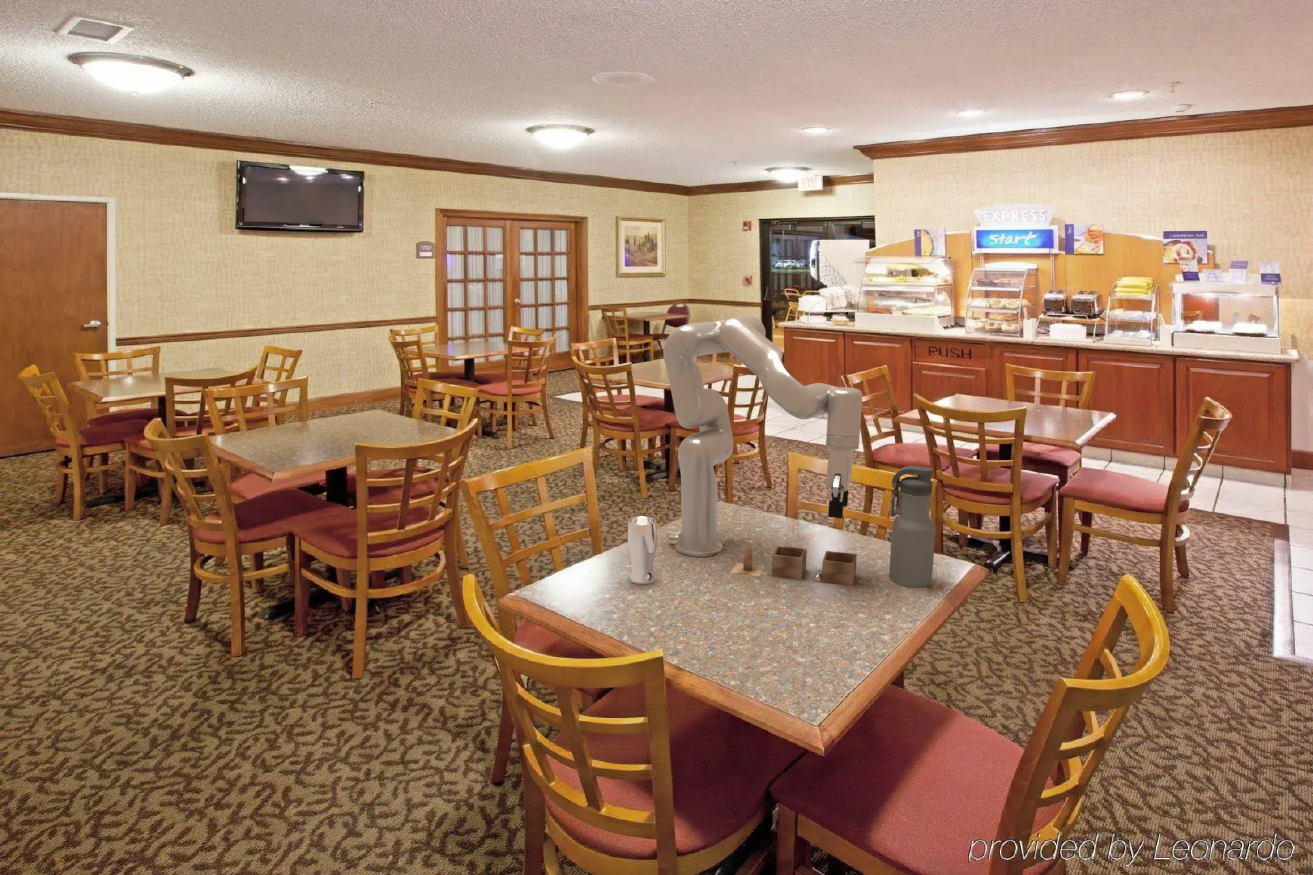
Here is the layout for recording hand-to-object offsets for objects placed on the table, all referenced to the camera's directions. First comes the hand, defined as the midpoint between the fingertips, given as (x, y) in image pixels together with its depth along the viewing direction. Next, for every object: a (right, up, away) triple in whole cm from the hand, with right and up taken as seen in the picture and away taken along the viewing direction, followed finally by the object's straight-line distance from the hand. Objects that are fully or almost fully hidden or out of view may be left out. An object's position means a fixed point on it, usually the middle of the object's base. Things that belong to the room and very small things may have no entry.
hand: (837, 511), depth 189 cm
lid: (-20, -16, +9) cm, 27 cm away
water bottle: (+18, -17, +2) cm, 25 cm away
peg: (-5, -16, +3) cm, 17 cm away
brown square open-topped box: (+1, -17, +2) cm, 17 cm away
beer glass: (-46, -17, +4) cm, 50 cm away
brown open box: (-11, -16, +6) cm, 20 cm away
